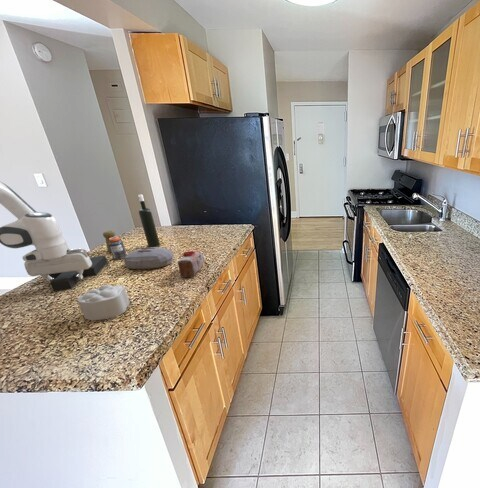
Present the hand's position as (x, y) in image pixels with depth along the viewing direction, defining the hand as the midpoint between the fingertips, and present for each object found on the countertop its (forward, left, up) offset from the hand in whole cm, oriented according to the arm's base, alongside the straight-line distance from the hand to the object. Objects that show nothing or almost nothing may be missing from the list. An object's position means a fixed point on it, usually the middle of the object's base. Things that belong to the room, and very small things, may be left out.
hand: (66, 280), depth 111 cm
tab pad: (0, +2, -2) cm, 2 cm away
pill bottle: (+12, +24, -2) cm, 27 cm away
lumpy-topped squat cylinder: (+23, -29, -2) cm, 37 cm away
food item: (+50, -5, -2) cm, 50 cm away
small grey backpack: (+30, +9, -2) cm, 31 cm away
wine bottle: (+25, +37, -2) cm, 45 cm away
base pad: (0, +12, -2) cm, 12 cm away
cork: (+5, +38, -2) cm, 39 cm away
